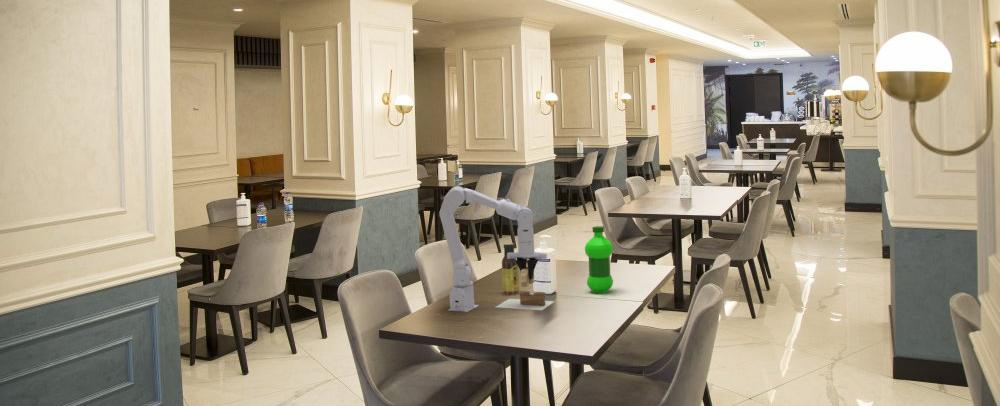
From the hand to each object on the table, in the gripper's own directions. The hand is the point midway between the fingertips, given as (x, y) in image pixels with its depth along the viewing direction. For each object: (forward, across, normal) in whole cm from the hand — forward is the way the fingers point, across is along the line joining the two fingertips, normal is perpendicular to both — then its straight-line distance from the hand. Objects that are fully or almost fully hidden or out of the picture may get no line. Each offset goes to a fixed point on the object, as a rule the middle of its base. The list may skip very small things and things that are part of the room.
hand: (527, 278), depth 271 cm
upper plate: (+2, 0, 0) cm, 2 cm away
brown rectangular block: (+9, -2, 0) cm, 10 cm away
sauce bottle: (+10, +14, -15) cm, 23 cm away
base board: (+10, +2, 0) cm, 10 cm away
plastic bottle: (+10, -19, -27) cm, 34 cm away
